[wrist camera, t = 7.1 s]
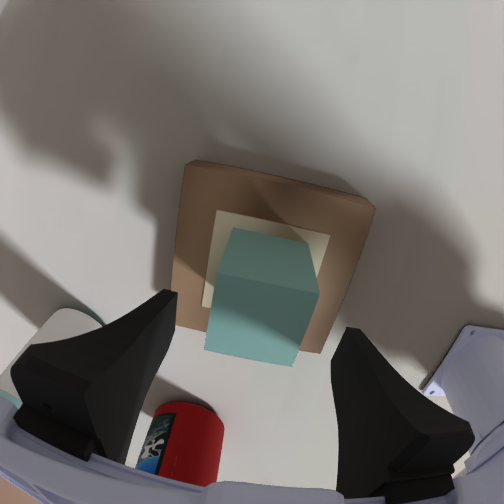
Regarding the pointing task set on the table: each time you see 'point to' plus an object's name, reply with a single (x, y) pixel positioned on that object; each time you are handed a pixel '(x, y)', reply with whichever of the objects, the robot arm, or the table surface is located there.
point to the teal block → (262, 298)
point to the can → (54, 329)
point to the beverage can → (183, 444)
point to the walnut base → (266, 222)
